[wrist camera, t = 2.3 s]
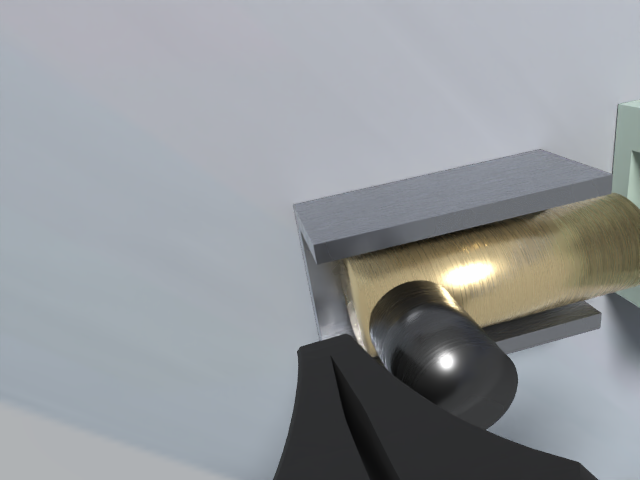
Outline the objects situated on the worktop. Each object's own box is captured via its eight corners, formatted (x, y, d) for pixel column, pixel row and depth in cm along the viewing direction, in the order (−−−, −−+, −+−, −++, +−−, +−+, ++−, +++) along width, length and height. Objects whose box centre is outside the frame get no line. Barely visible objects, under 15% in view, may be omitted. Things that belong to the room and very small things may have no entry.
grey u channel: (540, 149, 18) (613, 174, 15) (537, 281, 20) (600, 328, 17) (293, 204, 17) (313, 245, 13) (319, 338, 19) (341, 400, 16)
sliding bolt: (585, 180, 17) (771, 253, 12) (580, 262, 19) (745, 364, 13) (334, 240, 16) (404, 352, 10) (348, 322, 17) (416, 462, 12)
